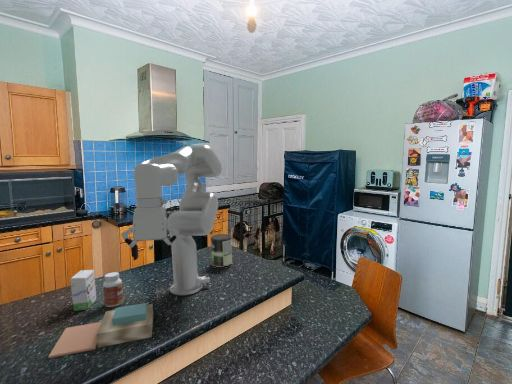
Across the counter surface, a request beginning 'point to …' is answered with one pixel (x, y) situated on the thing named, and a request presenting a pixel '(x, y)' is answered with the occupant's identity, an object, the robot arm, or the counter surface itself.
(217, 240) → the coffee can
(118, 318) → the tile
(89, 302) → the ink box
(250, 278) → the counter surface
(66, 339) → the mat
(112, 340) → the platform
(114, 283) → the pill bottle
